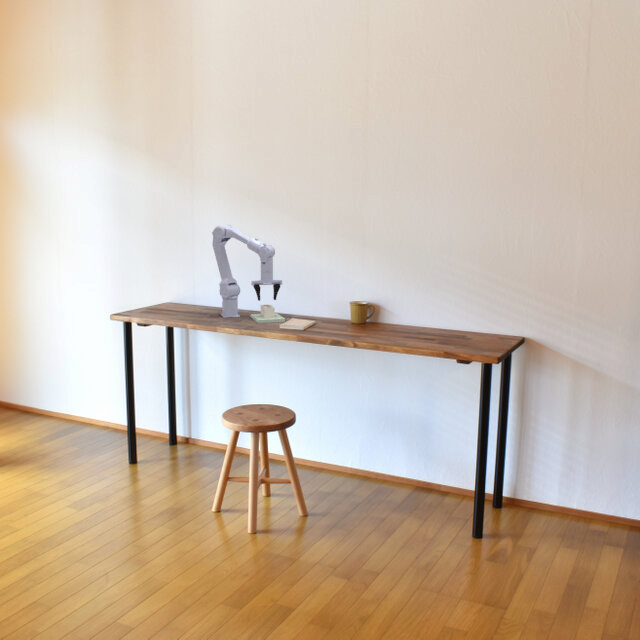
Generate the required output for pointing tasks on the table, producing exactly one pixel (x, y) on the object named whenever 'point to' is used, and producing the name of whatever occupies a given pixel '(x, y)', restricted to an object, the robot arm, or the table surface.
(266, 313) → the beige hollow block
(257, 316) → the pin plate
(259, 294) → the robot arm
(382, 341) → the table surface
